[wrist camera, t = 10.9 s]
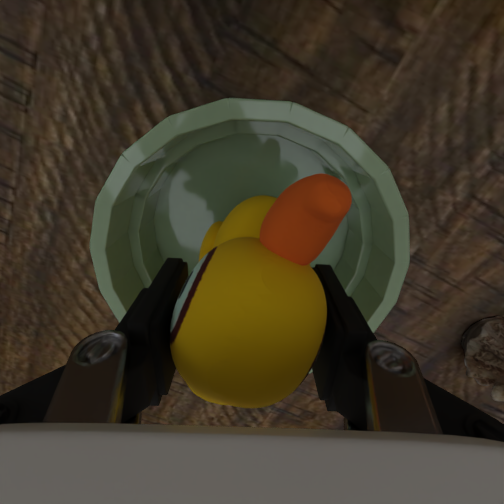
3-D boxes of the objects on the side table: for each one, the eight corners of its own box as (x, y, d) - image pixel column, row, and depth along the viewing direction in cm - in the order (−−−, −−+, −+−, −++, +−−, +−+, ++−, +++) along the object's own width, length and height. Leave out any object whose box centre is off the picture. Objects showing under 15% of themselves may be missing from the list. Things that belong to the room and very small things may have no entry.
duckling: (256, 126, 13) (204, 117, 4) (351, 175, 14) (493, 266, 5) (182, 297, 18) (82, 470, 9) (255, 328, 18) (232, 523, 9)
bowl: (152, 316, 20) (119, 379, 15) (121, 100, 14) (51, 87, 9) (339, 324, 21) (367, 387, 16) (390, 115, 14) (463, 110, 9)
